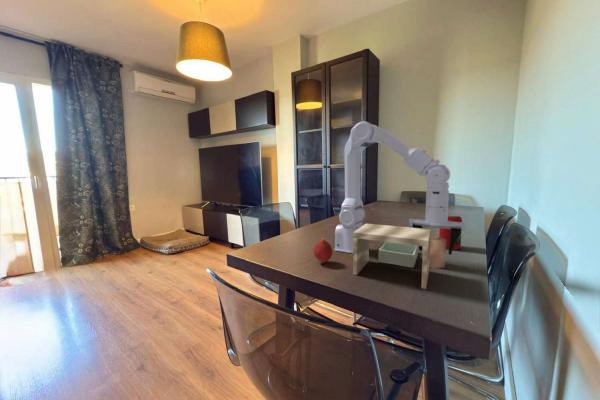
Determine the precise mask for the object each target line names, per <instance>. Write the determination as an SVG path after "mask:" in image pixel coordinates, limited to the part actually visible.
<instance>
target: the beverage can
mask: <svg viewBox="0 0 600 400" xmlns="http://www.w3.org/2000/svg"><path fill="white" fill-rule="evenodd" d="M448 221H454V222H462V223H463V219H462V217H461V215H460V214H457V213H452V212H451V213H450V212H448ZM438 229H439V231H438V233H439V234H438V237H442V238H445V239H446V250H449V244H450V229H444V228H438ZM462 232H463V231H462V230H461V234H460V236H459V238H458V239H457V241H456V243H455V245H454V247H453V250H457V249H459V248H461V244H462ZM453 250H452V251H453Z"/></svg>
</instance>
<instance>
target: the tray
mask: <svg viewBox="0 0 600 400" xmlns="http://www.w3.org/2000/svg"><path fill="white" fill-rule="evenodd" d="M381 245H382V246H381V247H379V249H378V254H377V255H378V257H377V258H378V263H382V264H388V265H389V264H390V265H395V266H400V267H407V268H414V267H415V265H416V261H417V260H418V251H419V246H416V245H408V244H400V243H392V242H383V244H381Z"/></svg>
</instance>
